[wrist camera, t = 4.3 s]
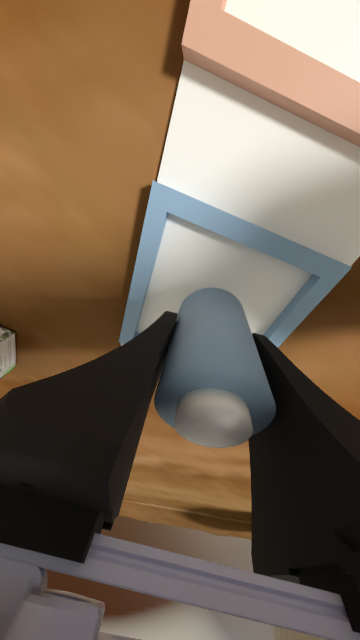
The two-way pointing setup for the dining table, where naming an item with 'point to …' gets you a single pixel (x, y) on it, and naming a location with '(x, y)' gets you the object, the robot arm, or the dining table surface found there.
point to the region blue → (241, 231)
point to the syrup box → (7, 351)
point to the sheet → (259, 171)
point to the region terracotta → (271, 69)
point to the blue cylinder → (214, 374)
